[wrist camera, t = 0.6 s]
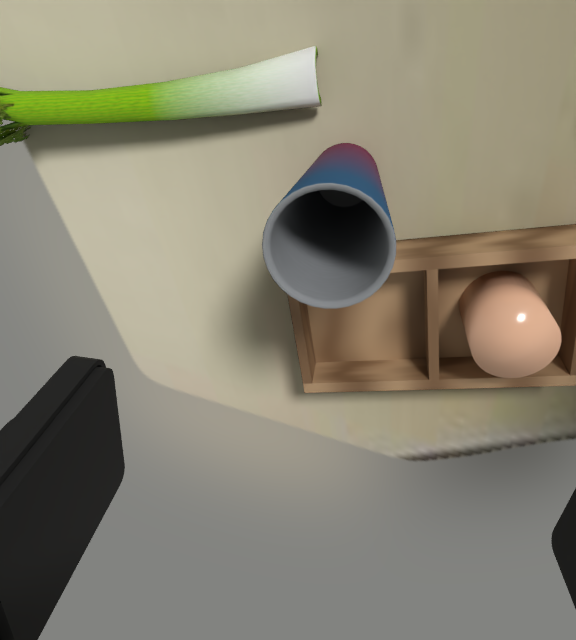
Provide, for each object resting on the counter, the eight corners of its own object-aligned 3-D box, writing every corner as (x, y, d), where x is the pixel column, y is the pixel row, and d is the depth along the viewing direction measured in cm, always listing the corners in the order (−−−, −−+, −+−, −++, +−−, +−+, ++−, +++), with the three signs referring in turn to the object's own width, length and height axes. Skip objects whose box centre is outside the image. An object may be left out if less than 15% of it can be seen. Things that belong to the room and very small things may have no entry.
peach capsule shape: (540, 267, 38) (566, 304, 33) (534, 333, 41) (556, 376, 36) (459, 273, 39) (471, 309, 34) (458, 337, 42) (469, 379, 37)
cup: (363, 233, 40) (356, 328, 27) (287, 197, 39) (243, 276, 26) (407, 155, 36) (423, 221, 23) (324, 113, 36) (293, 158, 23)
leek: (323, 125, 38) (-31, 160, 42) (317, 22, 36) (-60, 69, 39) (321, 126, 32) (-89, 166, 36) (313, 3, 30) (-127, 60, 33)
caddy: (581, 223, 37) (602, 243, 33) (563, 357, 42) (579, 385, 39) (290, 249, 41) (283, 269, 38) (310, 366, 47) (304, 392, 44)
